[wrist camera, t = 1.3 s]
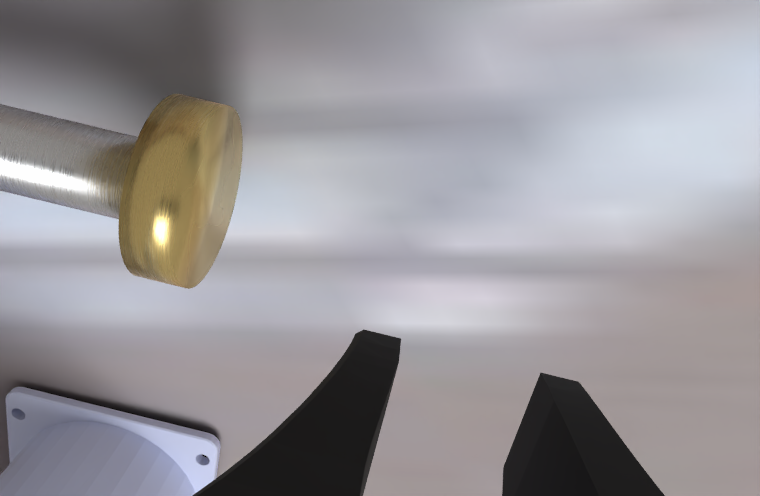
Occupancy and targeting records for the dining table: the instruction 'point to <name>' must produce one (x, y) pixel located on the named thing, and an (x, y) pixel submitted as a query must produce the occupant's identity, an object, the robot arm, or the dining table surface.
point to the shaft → (137, 179)
